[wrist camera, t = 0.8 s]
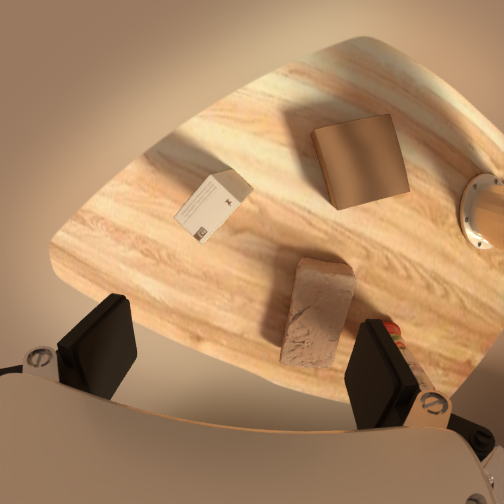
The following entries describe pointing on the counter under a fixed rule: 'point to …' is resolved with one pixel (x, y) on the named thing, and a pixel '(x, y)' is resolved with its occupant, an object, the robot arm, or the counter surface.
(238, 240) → the counter surface
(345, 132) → the walnut block
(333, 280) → the brick
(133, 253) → the counter surface
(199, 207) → the skincare box
